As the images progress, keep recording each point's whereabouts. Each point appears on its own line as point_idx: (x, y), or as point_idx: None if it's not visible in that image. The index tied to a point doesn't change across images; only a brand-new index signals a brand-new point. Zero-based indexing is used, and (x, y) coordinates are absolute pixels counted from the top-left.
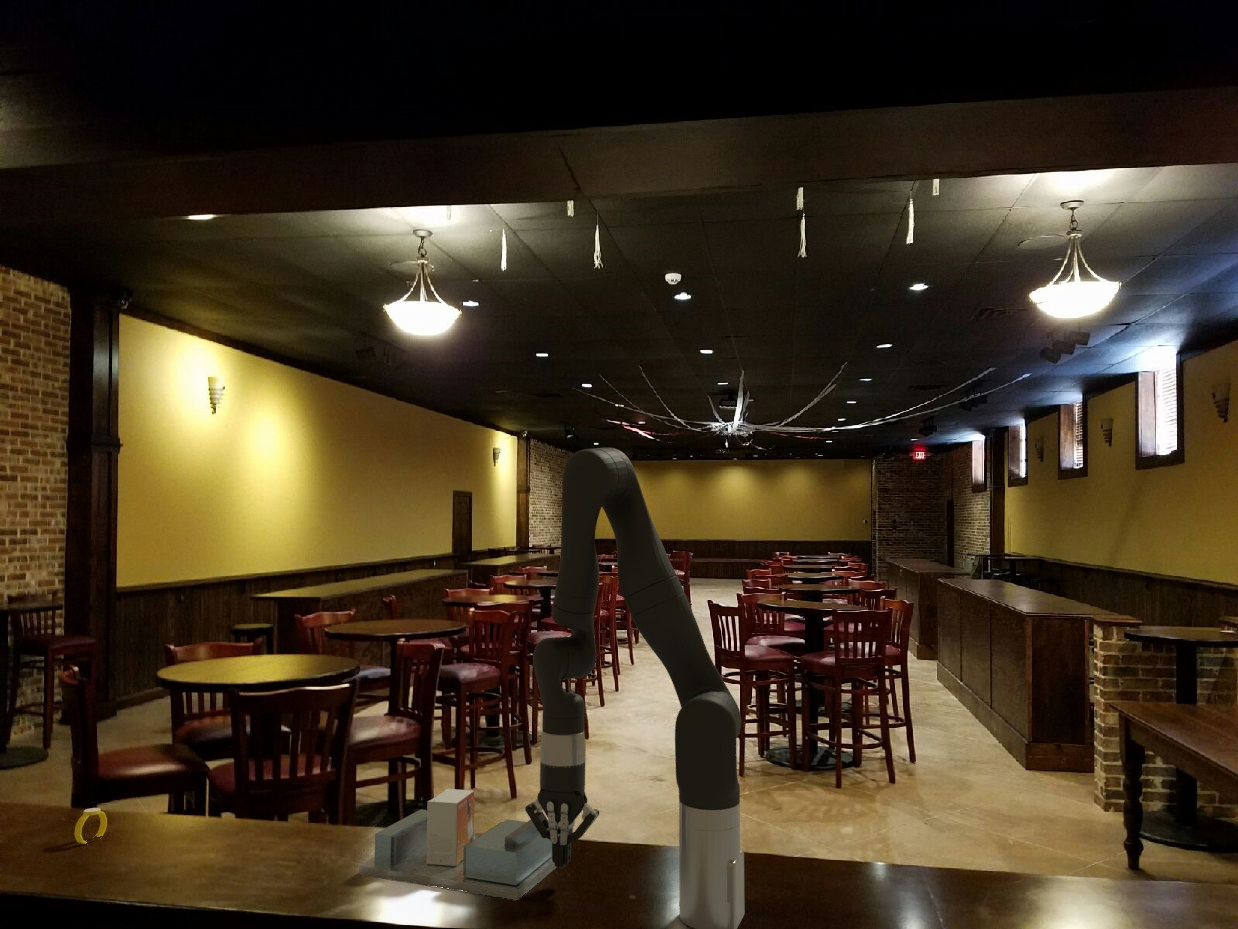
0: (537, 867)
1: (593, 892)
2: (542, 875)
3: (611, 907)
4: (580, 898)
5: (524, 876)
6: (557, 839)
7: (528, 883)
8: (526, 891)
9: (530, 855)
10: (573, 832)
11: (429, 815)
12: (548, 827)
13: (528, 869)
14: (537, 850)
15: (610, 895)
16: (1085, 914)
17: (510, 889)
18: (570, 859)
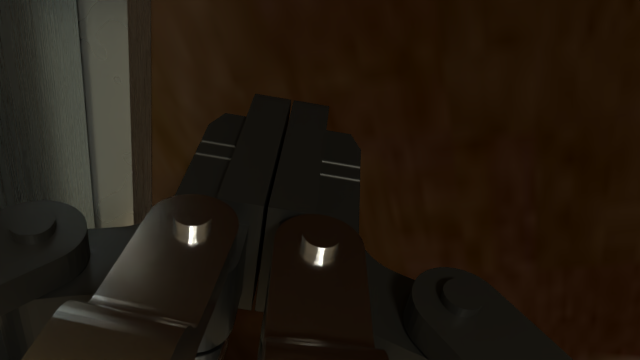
0: (75, 17)
1: (525, 145)
2: (141, 17)
3: (622, 289)
4: (453, 220)
5: (86, 203)
6: (224, 350)
7: (136, 211)
8: (148, 208)
9: (22, 198)
10: (390, 357)
11: None
12: (13, 309)
13: (70, 170)
14: (5, 79)
15: (633, 170)
16: None
17: None
18: (357, 150)
